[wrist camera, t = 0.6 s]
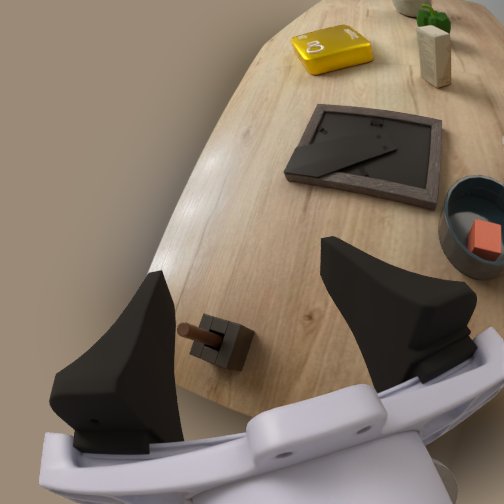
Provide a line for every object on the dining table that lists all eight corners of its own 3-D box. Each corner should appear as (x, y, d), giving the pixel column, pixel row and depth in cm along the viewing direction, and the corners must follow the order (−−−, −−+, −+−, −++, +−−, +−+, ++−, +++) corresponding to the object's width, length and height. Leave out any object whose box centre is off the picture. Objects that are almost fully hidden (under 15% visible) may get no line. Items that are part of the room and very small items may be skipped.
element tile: (376, 61, 47) (373, 42, 43) (311, 77, 51) (304, 58, 47) (350, 37, 54) (346, 21, 50) (294, 52, 58) (287, 36, 54)
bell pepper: (456, 41, 42) (454, 7, 34) (444, 50, 42) (442, 13, 34) (427, 31, 47) (423, -2, 38) (413, 39, 47) (408, 4, 38)
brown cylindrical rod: (236, 349, 34) (190, 334, 25) (226, 352, 34) (177, 338, 26) (234, 338, 34) (187, 319, 26) (223, 341, 35) (175, 324, 26)
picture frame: (287, 180, 42) (434, 210, 31) (283, 172, 40) (437, 201, 29) (319, 110, 46) (441, 127, 35) (317, 102, 44) (442, 118, 34)
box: (451, 84, 38) (452, 34, 29) (436, 88, 39) (435, 37, 29) (434, 71, 40) (431, 24, 31) (418, 75, 41) (414, 26, 32)
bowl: (528, 256, 23) (543, 239, 20) (466, 296, 26) (478, 283, 22) (484, 185, 29) (492, 164, 26) (422, 215, 32) (426, 194, 28)
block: (491, 266, 25) (501, 253, 22) (466, 260, 27) (474, 246, 24) (491, 239, 26) (501, 224, 23) (467, 233, 28) (475, 218, 25)
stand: (255, 331, 34) (241, 324, 31) (241, 371, 32) (226, 368, 29) (219, 321, 36) (203, 313, 33) (206, 358, 35) (189, 354, 31)
